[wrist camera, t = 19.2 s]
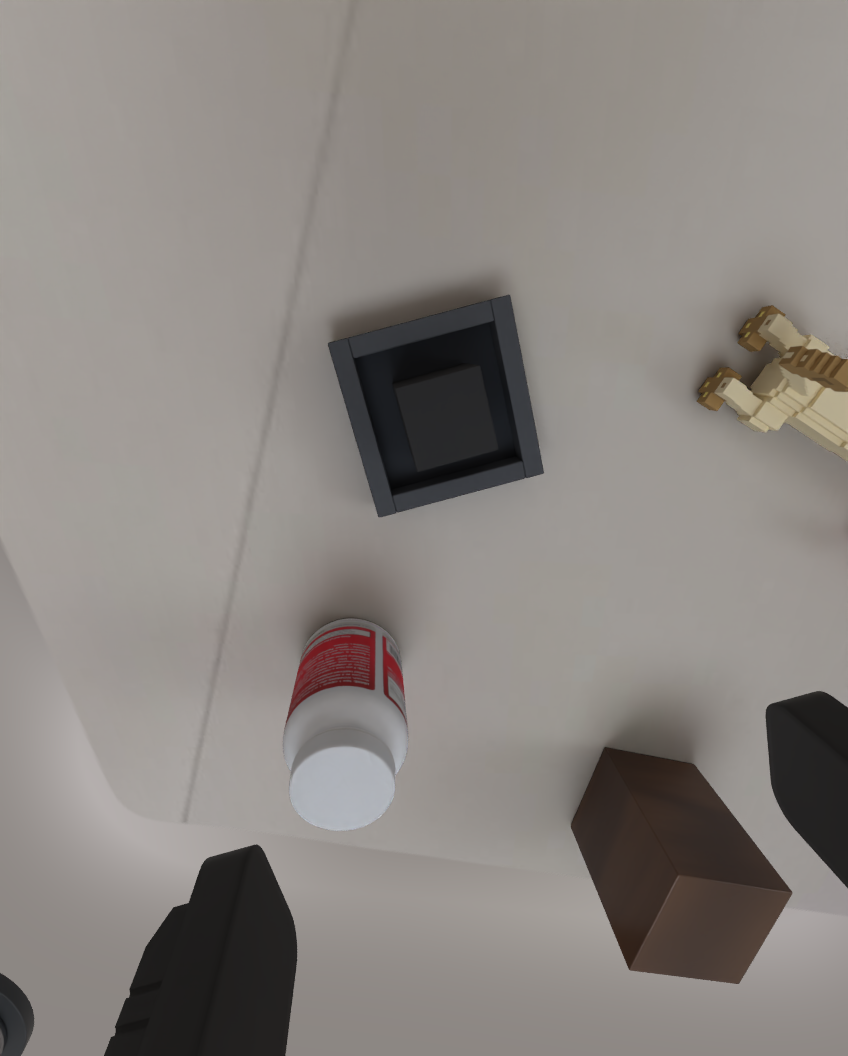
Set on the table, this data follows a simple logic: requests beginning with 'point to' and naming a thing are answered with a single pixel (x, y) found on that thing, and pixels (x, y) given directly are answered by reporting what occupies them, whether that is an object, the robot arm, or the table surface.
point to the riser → (675, 869)
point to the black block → (446, 415)
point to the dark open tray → (424, 349)
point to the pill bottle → (346, 726)
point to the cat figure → (787, 384)
